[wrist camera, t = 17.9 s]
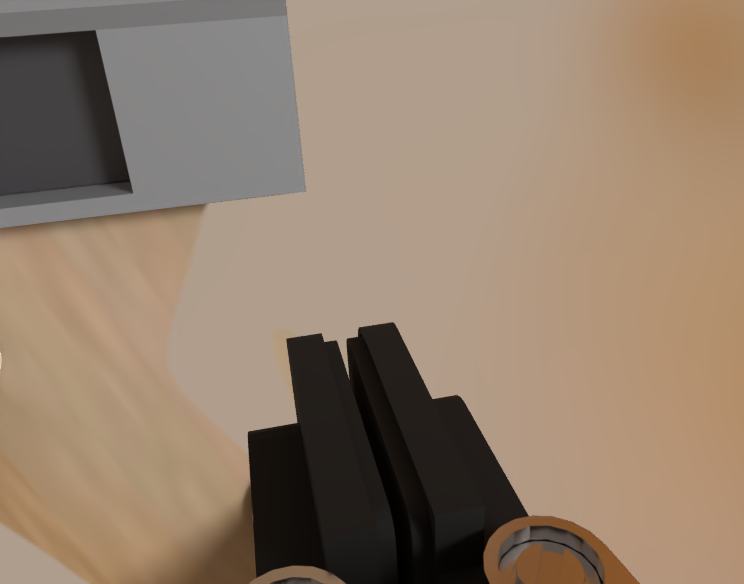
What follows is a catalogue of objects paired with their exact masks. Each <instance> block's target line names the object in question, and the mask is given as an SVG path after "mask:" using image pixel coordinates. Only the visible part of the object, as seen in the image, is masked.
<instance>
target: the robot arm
mask: <svg viewBox="0 0 744 584" xmlns="http://www.w3.org/2000/svg"><path fill="white" fill-rule="evenodd" d="M287 348H288V356H289V363H290V371H291V378H292V385H293V393H294V400H295V408H296V415H297V422H298V423H296V424H289V425H283V426H278V427H273V428H267V429H261V430H255V431H249V432H248V448H249V464H250V480H251V496H252V520H253V527H254V543H255V559H256V575H257V578H256V579H254V580H252V581H251V582H250V583H249V584H640V583H639V582H638V581H637V580H636V579H635V577H634V576H633V575H632V574H631V573H630V572H629V571H628V569H627V568H626V567H625V566H624V565H623V564H622V563H621V562H620V560H619V559H618V558H617V557H616V556H615V555H614V554H613V552H612V551H611V550H610V549H609V548H608V547H607V546H606V545H605V544H604V543H603V542H602V541H601V540H600V539H599V538H597V537H596V536H595V535H594V534H593V533H592V532H590V531H589V530H587V529H585V528H583V527H581V526H579V525H577V524H575V523H574V522H571V521H568V520H564V519H560V518H557V517H553V516H528V514H527V512H526V510H525V509H524V507H523V505H522V503H521V502H520V500H519V499H518V496H517V495H516V493H515V491H514V489H513V488H512V486H511V484H510V482H509V480H508V479H507V477H506V475H505V473H504V472H503V470H502V468H501V466H500V465H499V463H498V461H497V460H496V457H495V456H494V454H493V452H492V450H491V449H490V447H489V445H488V443H487V441H486V440H485V438H484V436H483V434H482V433H481V431H480V429H479V427H478V426H477V424H476V422H475V420H474V419H473V417H472V415H471V413H470V412H469V410H468V408H467V406H466V404H465V403H464V401H463V400H462V398H461V397H459V396H457V395H455V396H449V397H443V398H438V399H432V398H431V396H430V394H429V392H428V389H427V388H426V385H425V383H424V381H423V379H422V378H421V375H420V374H419V371H418V369H417V367H416V365H415V363H414V361H413V359H412V357H411V355H410V353H409V351H408V349H407V347H406V345H405V343H404V341H403V339H402V337H401V335H400V333H399V331H398V329H397V327H396V325H395V324H394V323H393V322H392V323H386V324H379V325H372V326H366V327H360V328H359V329H358V337H354V338H348V339H347V355H348V367H349V377H348V374H347V372H346V368H345V365H344V362H343V359H342V355H341V352H340V349H339V346H338V343H337V341H329V342H324V340H323V336H322V334H314V335H308V336H301V337H294V338H288V339H287ZM349 378H350V381H349Z"/></svg>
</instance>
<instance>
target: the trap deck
mask: <svg viewBox="0 0 744 584" xmlns="http://www.w3.org/2000/svg"><path fill="white" fill-rule="evenodd" d="M298 121H299V120H298V112H297V102H296V92H295V83H294V73H293V65H292V55H291V45H290V36H289V27H288V17H287V8H286V0H0V228H5V227H13V226H22V225H30V224H39V223H47V222H55V221H64V220H72V219H80V218H89V217H97V216H105V215H114V214H122V213H131V212H139V211H147V210H156V209H164V208H172V207H181V206H189V205H197V204H206V203H214V202H223V201H231V200H239V199H247V198H256V197H264V196H273V195H280V194H289V193H297V192H306V186H305V177H304V168H303V158H302V149H301V139H300V130H299V122H298ZM127 180H130V181H127ZM118 181H125V182H118ZM109 182H116V183H109ZM100 183H107V184H100ZM91 184H98V185H91ZM82 185H89V186H82ZM73 186H80V187H73ZM64 187H71V188H64ZM55 188H63V189H55ZM46 189H54V190H46ZM37 190H45V191H37ZM29 191H36V192H29ZM20 192H27V193H20ZM11 193H18V194H11ZM2 194H9V195H2Z"/></svg>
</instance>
